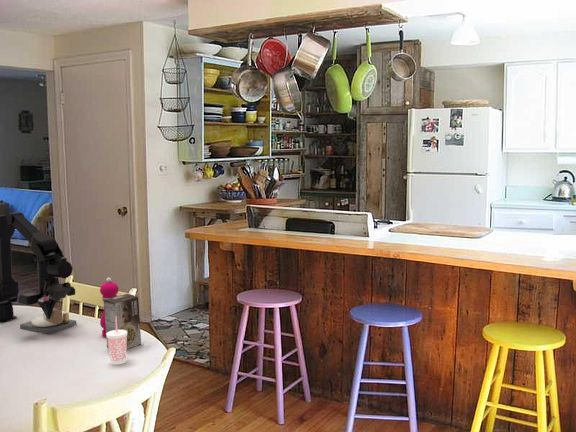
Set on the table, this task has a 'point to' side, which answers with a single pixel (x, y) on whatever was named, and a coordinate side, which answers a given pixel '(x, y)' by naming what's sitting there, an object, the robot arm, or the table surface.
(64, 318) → the gold rounded piece
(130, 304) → the coffee box
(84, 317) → the table surface
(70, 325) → the base plate
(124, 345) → the beverage cup
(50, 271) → the robot arm
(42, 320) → the flange
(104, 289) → the pepper mill
